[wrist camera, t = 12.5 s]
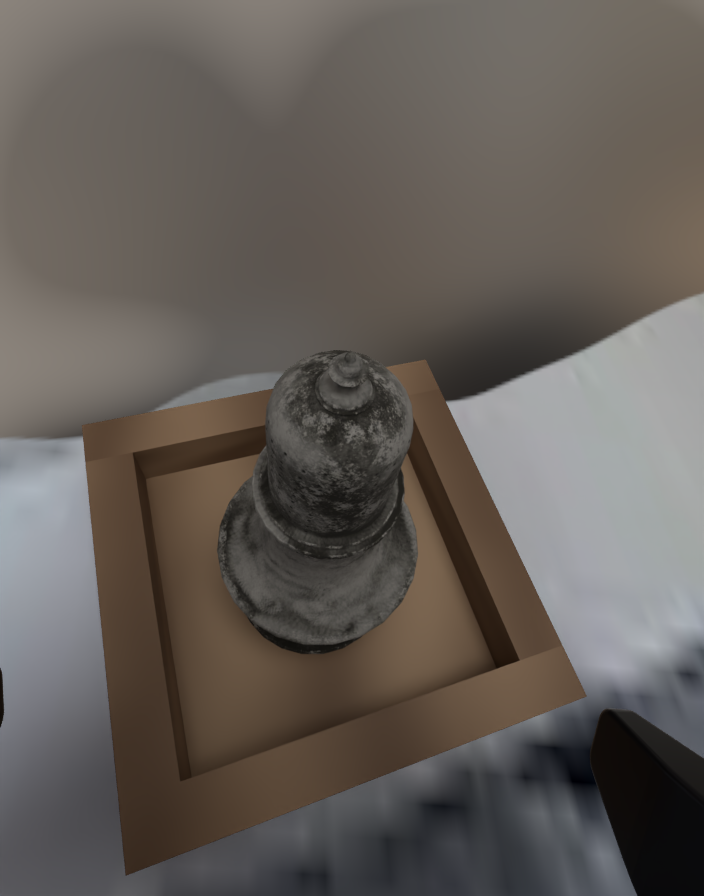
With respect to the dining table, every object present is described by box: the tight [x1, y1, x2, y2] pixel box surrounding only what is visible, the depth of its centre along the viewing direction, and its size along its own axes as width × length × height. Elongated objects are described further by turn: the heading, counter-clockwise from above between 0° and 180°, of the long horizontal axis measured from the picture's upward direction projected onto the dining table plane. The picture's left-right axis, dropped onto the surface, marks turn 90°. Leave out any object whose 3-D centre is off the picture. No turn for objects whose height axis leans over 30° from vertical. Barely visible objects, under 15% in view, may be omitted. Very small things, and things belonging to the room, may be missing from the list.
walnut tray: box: [82, 360, 586, 875], centre depth 18 cm, size 13×13×3 cm
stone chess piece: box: [217, 350, 418, 654], centre depth 14 cm, size 6×6×12 cm
